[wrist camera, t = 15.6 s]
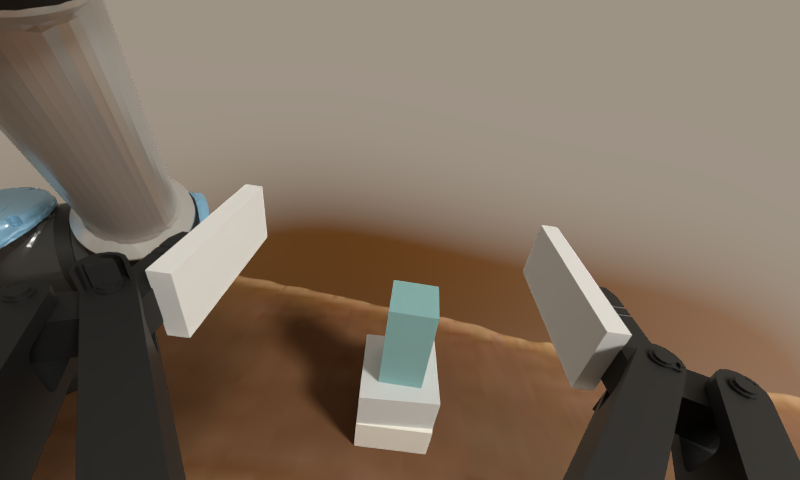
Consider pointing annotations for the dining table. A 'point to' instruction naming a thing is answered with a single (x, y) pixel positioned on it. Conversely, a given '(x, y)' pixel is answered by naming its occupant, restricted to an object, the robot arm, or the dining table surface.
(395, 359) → the teal post
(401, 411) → the tower top
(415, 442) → the tower base
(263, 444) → the dining table surface
